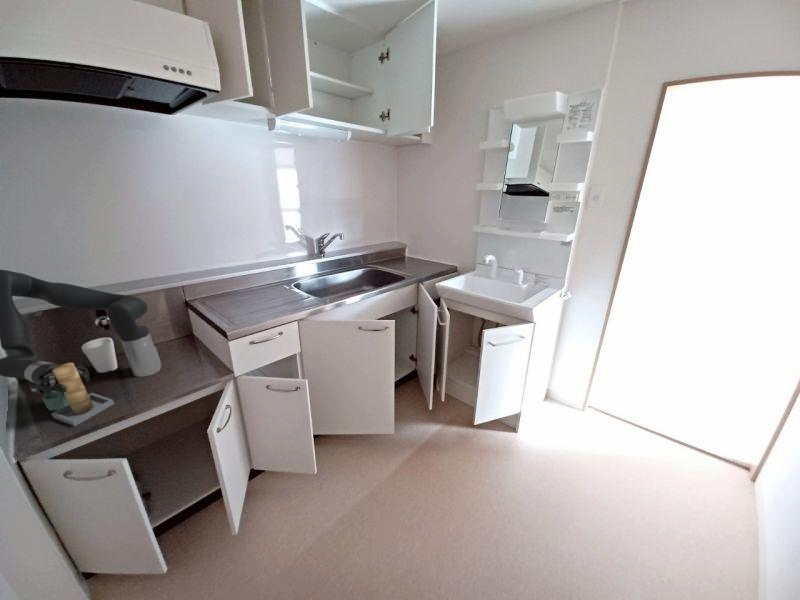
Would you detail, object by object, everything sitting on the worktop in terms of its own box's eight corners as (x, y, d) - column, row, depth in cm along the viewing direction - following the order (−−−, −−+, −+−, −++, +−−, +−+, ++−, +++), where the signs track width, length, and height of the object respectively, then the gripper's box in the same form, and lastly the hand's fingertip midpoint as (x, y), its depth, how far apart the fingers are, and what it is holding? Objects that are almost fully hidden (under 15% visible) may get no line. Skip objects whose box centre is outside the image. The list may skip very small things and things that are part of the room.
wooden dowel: (82, 405, 111) (61, 363, 104) (97, 404, 111) (77, 362, 105) (70, 415, 106) (47, 371, 100) (85, 414, 107) (64, 370, 100)
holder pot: (62, 397, 116) (56, 386, 114) (84, 396, 117) (79, 385, 115) (42, 412, 109) (36, 400, 107) (66, 410, 110) (60, 399, 108)
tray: (54, 419, 106) (51, 413, 105) (94, 397, 116) (91, 392, 115) (75, 427, 102) (72, 421, 102) (114, 404, 113) (112, 399, 112)
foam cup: (119, 360, 139) (109, 335, 134) (124, 368, 134) (114, 342, 129) (91, 370, 132) (79, 343, 127) (95, 378, 127) (83, 351, 122)
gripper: (11, 376, 101) (43, 387, 96) (67, 354, 114) (97, 363, 109) (22, 394, 104) (52, 406, 99) (75, 371, 116) (104, 380, 111)
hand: (76, 383), depth 104 cm, fingers open, 5 cm apart
